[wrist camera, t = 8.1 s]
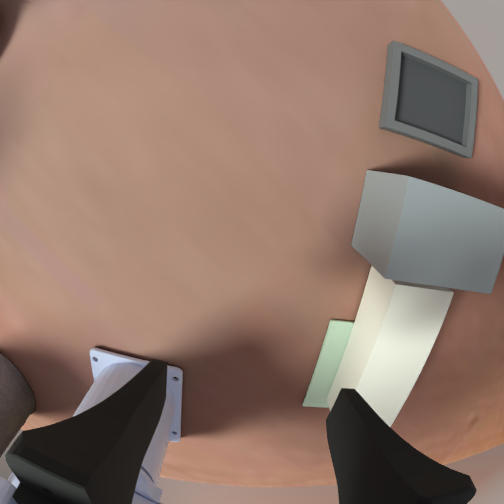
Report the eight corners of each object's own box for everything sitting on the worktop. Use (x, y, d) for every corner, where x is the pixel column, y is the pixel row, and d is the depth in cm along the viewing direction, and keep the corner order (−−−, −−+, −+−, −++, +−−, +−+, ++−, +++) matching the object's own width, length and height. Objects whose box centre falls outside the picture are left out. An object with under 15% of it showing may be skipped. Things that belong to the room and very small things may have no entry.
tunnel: (444, 262, 20) (490, 294, 14) (350, 245, 20) (384, 278, 14) (460, 197, 19) (513, 212, 13) (366, 169, 19) (409, 176, 13)
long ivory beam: (374, 399, 24) (387, 430, 20) (326, 398, 23) (335, 432, 20) (425, 270, 20) (454, 292, 16) (372, 261, 20) (395, 284, 16)
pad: (385, 406, 24) (385, 407, 24) (302, 404, 24) (302, 406, 24) (421, 327, 22) (423, 328, 22) (330, 319, 22) (331, 320, 21)
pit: (463, 157, 18) (471, 158, 17) (378, 127, 18) (384, 126, 17) (470, 81, 16) (478, 79, 15) (388, 45, 16) (393, 40, 15)
